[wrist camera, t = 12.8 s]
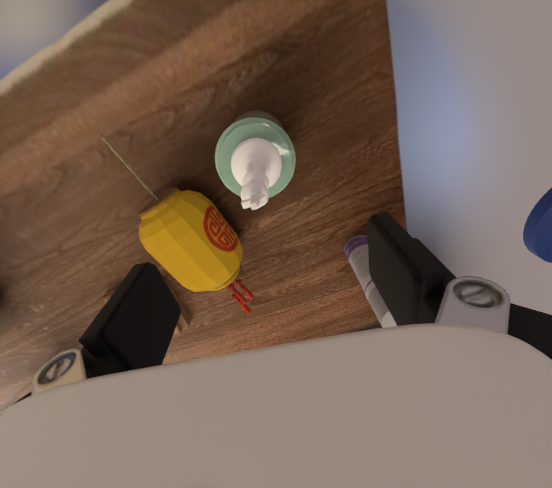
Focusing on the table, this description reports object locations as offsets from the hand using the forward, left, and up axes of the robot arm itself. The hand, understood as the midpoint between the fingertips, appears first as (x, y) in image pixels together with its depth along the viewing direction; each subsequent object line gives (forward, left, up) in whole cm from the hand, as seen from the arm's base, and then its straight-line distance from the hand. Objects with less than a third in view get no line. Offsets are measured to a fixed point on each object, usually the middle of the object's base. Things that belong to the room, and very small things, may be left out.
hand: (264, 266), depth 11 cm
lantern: (+13, -6, -25) cm, 29 cm away
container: (+10, +19, -25) cm, 33 cm away
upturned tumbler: (0, -1, -25) cm, 25 cm away
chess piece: (0, -1, -16) cm, 16 cm away
